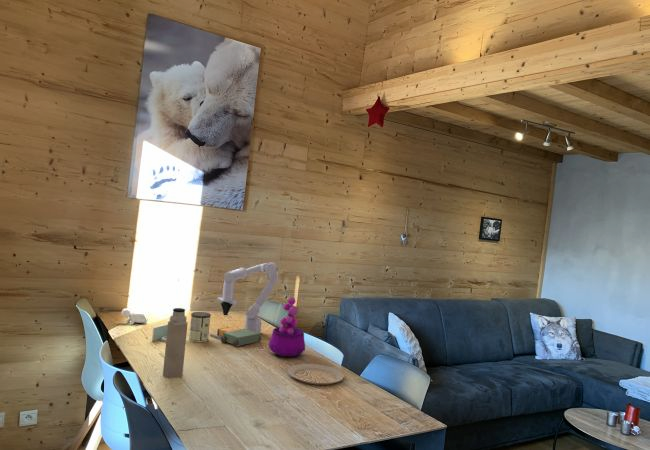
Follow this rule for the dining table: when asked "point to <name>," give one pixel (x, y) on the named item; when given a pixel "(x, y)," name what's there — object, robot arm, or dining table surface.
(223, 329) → the orange and grey block
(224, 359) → the dining table surface
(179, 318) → the thermos bottle
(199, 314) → the coffee can
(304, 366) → the plate
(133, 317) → the white lumpy figure
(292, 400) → the dining table surface
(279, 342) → the decorative plant
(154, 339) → the right angle wall
